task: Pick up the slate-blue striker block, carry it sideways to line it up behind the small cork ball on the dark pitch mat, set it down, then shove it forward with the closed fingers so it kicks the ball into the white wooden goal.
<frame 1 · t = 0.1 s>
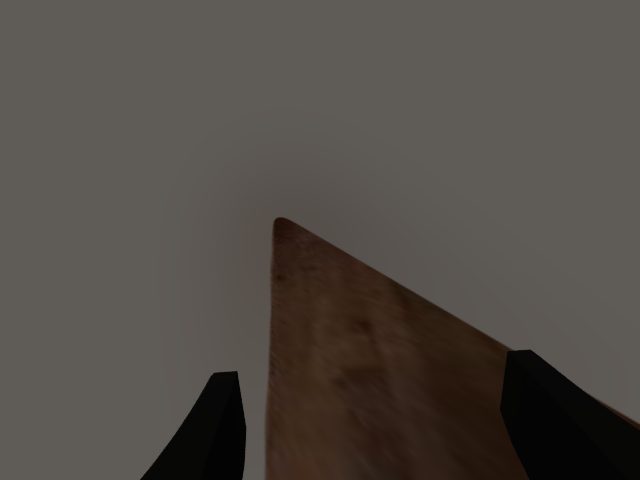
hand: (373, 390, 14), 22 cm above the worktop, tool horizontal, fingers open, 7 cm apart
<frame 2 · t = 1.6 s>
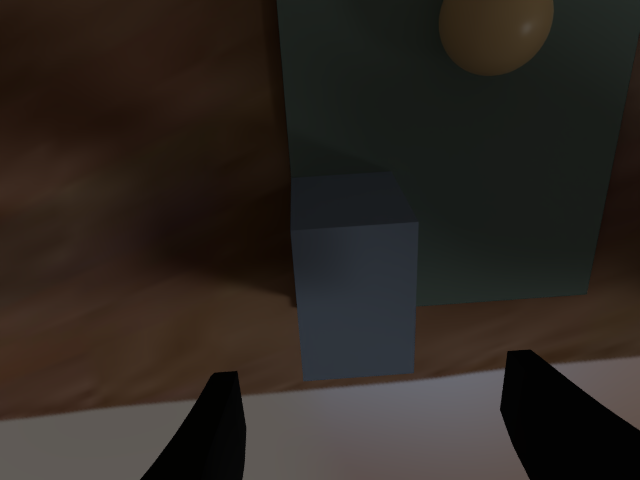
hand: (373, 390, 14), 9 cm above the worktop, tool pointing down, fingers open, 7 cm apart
ball: (494, 19, 17), point 2 cm above the worktop, touching pitch mat
striker: (343, 242, 22), resting on pitch mat
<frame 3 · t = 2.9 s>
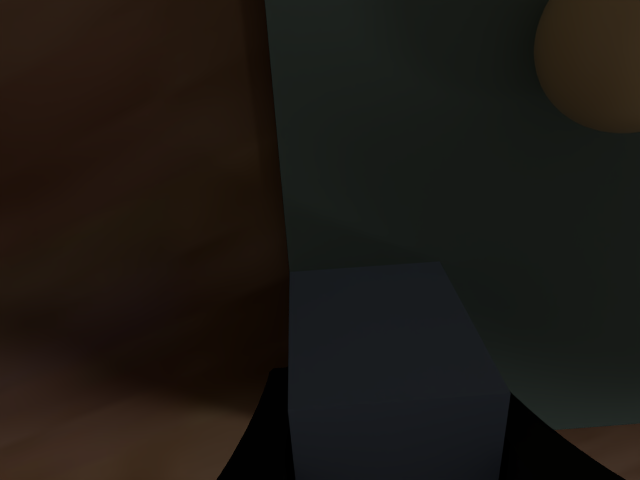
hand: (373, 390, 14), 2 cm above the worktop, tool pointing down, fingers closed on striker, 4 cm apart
ball: (633, 39, 10), point 2 cm above the worktop, touching pitch mat
striker: (366, 356, 15), resting on pitch mat, touching gripper
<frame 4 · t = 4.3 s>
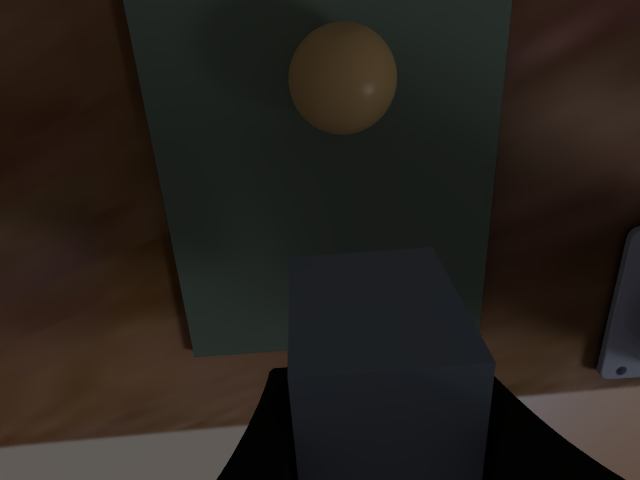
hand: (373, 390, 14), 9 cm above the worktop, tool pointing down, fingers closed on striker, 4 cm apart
ball: (342, 79, 17), point 2 cm above the worktop, touching pitch mat
striker: (363, 339, 16), point 7 cm above the worktop, touching gripper
pitch mat: (322, 41, 18), on the worktop
when the fingers open (2 cm above the worktop, at t = 5.9 s): striker stays where it is, resting on pitch mat.
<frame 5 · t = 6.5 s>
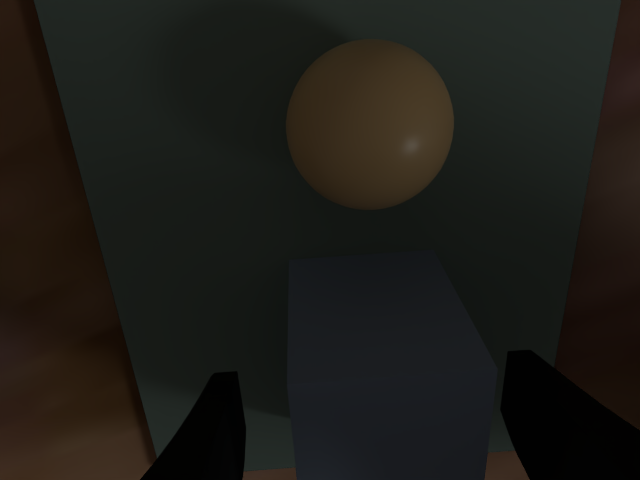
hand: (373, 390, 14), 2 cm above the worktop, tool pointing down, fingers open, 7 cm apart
ball: (368, 127, 11), point 2 cm above the worktop, touching pitch mat
striker: (363, 342, 16), resting on pitch mat
pitch mat: (335, 66, 12), on the worktop
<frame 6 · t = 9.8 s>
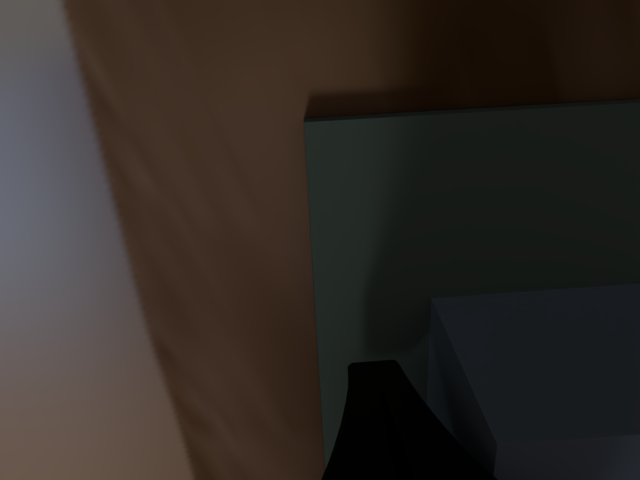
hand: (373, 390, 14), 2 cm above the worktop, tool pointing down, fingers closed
striker: (532, 349, 15), resting on pitch mat, touching gripper
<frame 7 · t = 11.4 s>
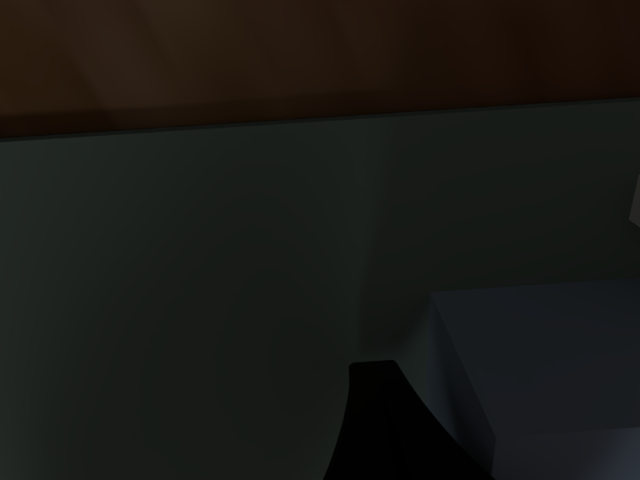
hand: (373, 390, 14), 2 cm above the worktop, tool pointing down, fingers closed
striker: (531, 344, 15), resting on pitch mat, touching gripper
pitch mat: (407, 337, 15), on the worktop
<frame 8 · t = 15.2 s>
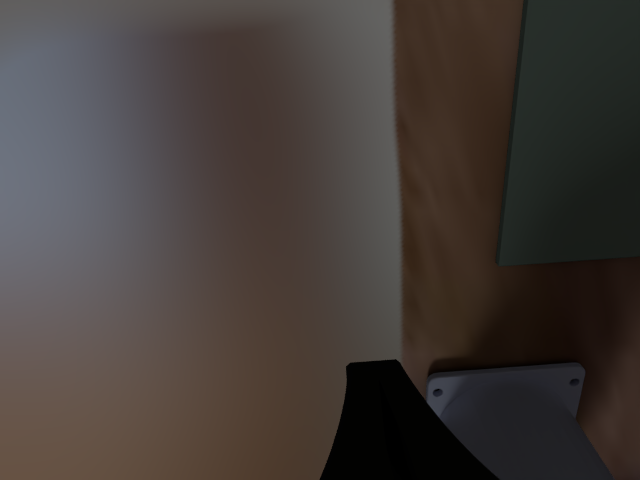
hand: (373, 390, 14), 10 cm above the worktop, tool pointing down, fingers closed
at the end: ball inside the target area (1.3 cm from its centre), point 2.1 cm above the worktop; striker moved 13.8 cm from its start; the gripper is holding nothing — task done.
